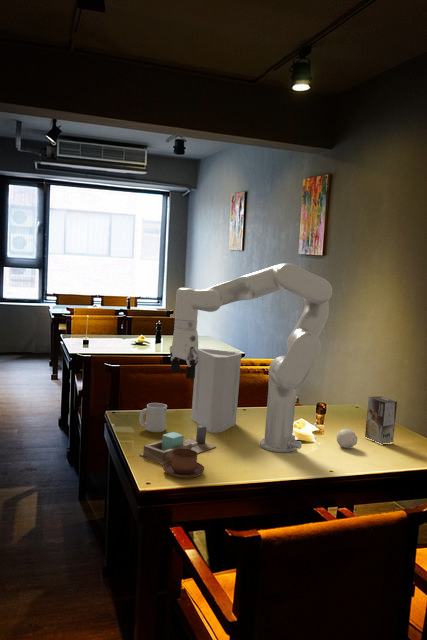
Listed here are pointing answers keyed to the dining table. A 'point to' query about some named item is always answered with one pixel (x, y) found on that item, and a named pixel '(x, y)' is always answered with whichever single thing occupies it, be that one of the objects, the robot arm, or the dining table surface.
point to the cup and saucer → (183, 464)
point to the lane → (157, 455)
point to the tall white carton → (216, 389)
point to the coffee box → (380, 419)
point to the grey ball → (346, 438)
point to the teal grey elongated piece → (177, 440)
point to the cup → (154, 417)
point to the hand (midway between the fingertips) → (182, 375)
